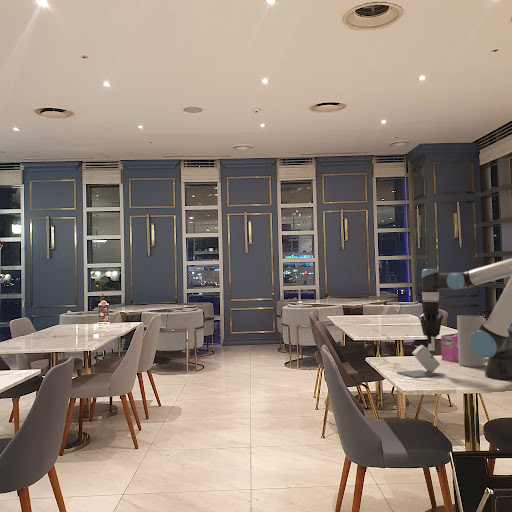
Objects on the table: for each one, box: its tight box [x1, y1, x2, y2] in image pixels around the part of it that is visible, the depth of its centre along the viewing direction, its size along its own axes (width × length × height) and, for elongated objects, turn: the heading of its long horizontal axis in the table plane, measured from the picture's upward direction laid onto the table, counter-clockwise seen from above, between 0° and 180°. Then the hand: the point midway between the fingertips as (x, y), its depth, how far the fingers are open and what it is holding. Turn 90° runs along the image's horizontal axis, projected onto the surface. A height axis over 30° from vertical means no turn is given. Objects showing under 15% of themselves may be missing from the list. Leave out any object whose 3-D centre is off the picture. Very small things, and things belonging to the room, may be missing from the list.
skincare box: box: [411, 344, 441, 373], centre depth 247 cm, size 6×4×12 cm
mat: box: [396, 369, 440, 379], centre depth 243 cm, size 13×14×1 cm
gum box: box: [440, 332, 459, 362], centre depth 288 cm, size 24×8×14 cm, turn 127°
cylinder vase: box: [456, 315, 486, 368], centre depth 266 cm, size 12×12×25 cm
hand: (431, 350), depth 247 cm, fingers closed
